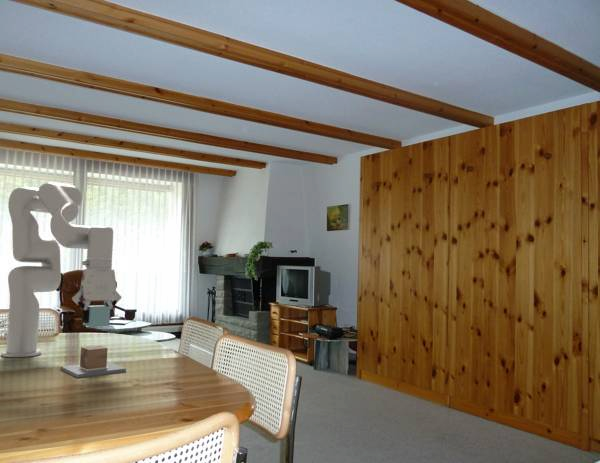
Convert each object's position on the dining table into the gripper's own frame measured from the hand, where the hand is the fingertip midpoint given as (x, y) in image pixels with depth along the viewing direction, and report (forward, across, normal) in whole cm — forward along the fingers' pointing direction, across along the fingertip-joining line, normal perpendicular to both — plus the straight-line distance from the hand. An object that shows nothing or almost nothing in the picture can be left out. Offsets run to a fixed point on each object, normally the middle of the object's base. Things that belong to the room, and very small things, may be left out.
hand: (96, 321), depth 163 cm
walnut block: (+14, 0, 0) cm, 14 cm away
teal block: (+1, 0, 0) cm, 1 cm away
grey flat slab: (+15, 0, 0) cm, 15 cm away
